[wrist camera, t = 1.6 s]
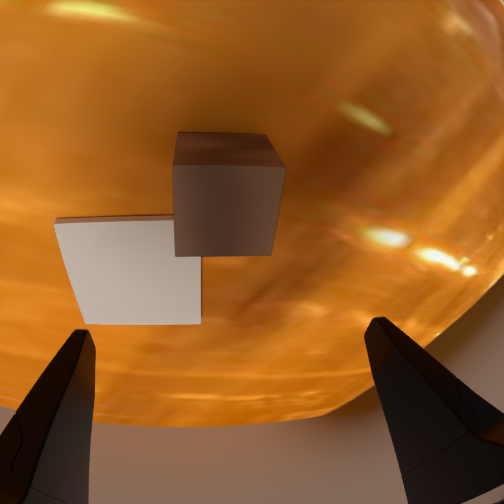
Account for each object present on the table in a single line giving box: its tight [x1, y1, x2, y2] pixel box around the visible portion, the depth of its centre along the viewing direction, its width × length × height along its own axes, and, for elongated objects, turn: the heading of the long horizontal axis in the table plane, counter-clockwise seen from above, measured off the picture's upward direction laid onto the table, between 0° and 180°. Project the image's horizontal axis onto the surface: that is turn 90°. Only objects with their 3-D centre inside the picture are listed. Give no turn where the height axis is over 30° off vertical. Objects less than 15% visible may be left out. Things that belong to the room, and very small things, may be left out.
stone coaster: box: [54, 215, 201, 325], centre depth 22 cm, size 10×10×1 cm
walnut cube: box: [173, 132, 286, 257], centre depth 17 cm, size 5×5×5 cm
